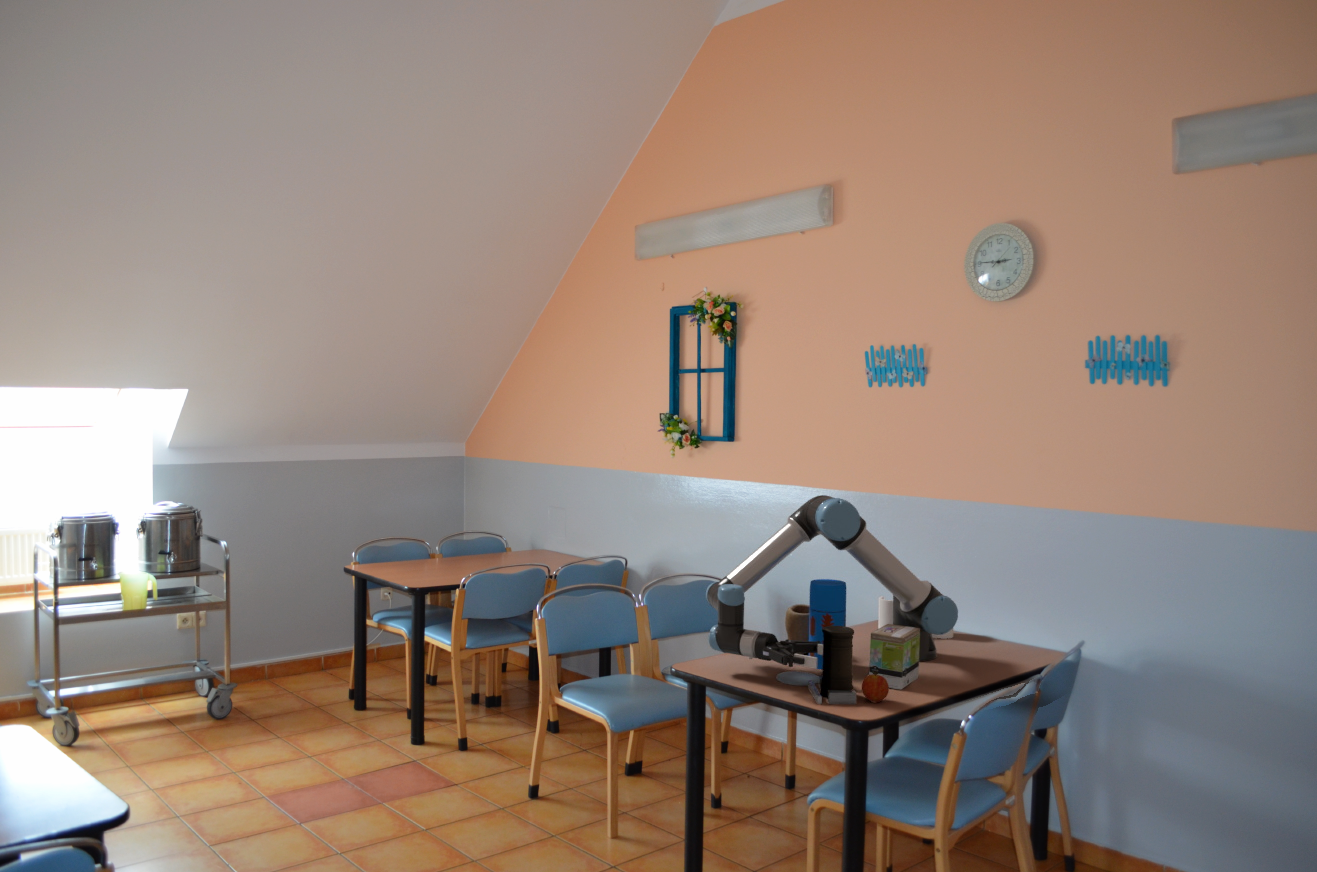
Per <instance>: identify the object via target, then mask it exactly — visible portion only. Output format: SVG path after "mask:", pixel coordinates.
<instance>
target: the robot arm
mask: <svg viewBox="0 0 1317 872" xmlns="http://www.w3.org/2000/svg"><path fill="white" fill-rule="evenodd" d="M817 536H822V537H823V538H825V539H826V540H827V541H828V542H829V543H830V544H831V545H832V546H834V547H835V548H836V550H837V551H845V552H847V553H848V554H849V555H850V556H851V557H853V558H854V559H855V560H856V561H857V562H858V563H859V564H860V565H861V566H863V567H862V568H864V569H865V570H866V571H867V572H868V573H870V574H871V576H873V577H874V578H875V579H876V580H877V581H878V582H879V583H880V584H881V585H883V587H884V588H886V590H887V591H889V592H890V593H891V594H892V601H893V625H900V626H907V627H914V628H920V649H919V662H923V661H924V662H925V661H926V662H927V661H931V660H934V659H936V658H937V653H938V651H937V646H936V643H935V639H934V638H933V636H932V634H935V635H942V634H945V633H947V632H949V631H950V630H951V629H952V628H953V629H954V627H955V625H956V624H957V621H958V619H959V609H958V606H957V604H956V603H955V600H953V599H952V598H951V597H949V596H947V595H944V594H943V593H941V591H939V590H938V589H937V588H936V586H934V585H933V584H932V583H931V581H928V580H920V578H918V577H917V576H916V575H915V574H914V573H913V572H912V571H911V570H910V569H909V568H908V567H907V566H905V564H903V562H901V560H899V559H898V558H897V557H896V556H895V555H894V554H893V553H892V552H891V551H890V550H889V549H888V548H887V547H886V546H885V545H883V543H882V542H880V541H879V540H878V539H877V538H876V536H874V534H872V533H871V532H870V531H869V530H868V529H867V521H866V520H865V519H864V518H863V517H862V516H860V513H859V510H858V509H857V508H856V507H855V506H854V505H853V504H852V503H851V502H849V501H848V500H847V499H843V498H840V497H832V496H830V495H826V494H823V495H817V496H813V497H811V498H810V499H808V500H807V501H805V503H803V504H802V505H801V506H799V508H798V509H796V510H795V511H794V512H793V513H791V515H789V516H788V517H787V522H786V523H785V524H784V525H783V526H782V527H781V528H779V529H778V530H777V531H776V532H774V534H773V535H771V536H770V537H769V538H768V539H767V540H766V541H764V542H763V543H762V544H761V545H760V546H759V547H758V548H757V549H755V550H754V551H753V552H752V553H751V554H749V555H748V556H747V557H746V558H745V559H744V560H743V561H741V562H740V563H739V564H738V565H736V567H734V569H732V570H731V571H730V572H728V573H727V575H726V576H724V577H723V578H722V579H720V580H719V581H714V582H712V583H709V584H708V586H707V588H706V590H705V599H706V600H707V602H708V604H709V606H711V607H712V608H714V609H715V610H716V611H717V624H714V625H713V626H712V627H711V628H710V630H709V635H708V643H709V647H711V649H712V650H714V651H718V652H721V653H723V654H730V655H736V656H742V657H748V659H749V660H752V659H758V660H761V661H768V662H769V661H774V662H776V663H778V664H780V665H783V666H788V668H793V667H794V665H796V666H801V667H805V668H812V669H816V668H817V657H811V656H809V655H804V654H809V653H818V654H820V655H823V644H821V642H820V641H818V640H817V642H816V641H797V640H788V638H787V639H785V640H780V641H779V640H778V638H777V636H776V635H775V634H774V633H769V632H765V631H763V632H762V631H760V630H759V631H758V630H753V629H746V628H744V626H745V625H744V624H745V601H746V598H745V597H746V596H745V593H746V592H747V591H749V590H750V589H751V588H752V587H753V586H754V585H755V584H756V583H759V581H760V580H761V579H762V578H764V576H766V575H767V574H768V573H769V572H771V571H772V570H773V569H775V567H777V565H779V564H780V563H781V562H782V561H783V560H785V559H786V558H787V557H788V556H789V555H790V554H791V553H793V552H794V551H795V550H796V549H797V548H799V547H800V546H801V545H802V544H804V543H805V542H806V543H808V542H811V541H812V540H813V539H814V538H815V537H817ZM796 653H804V654H796Z"/></svg>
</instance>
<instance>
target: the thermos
mask: <svg viewBox="0 0 1317 872" xmlns="http://www.w3.org/2000/svg"><path fill="white" fill-rule="evenodd" d="M808 605H809V641H816V642H817V640H818V641H820V642H821V644H823V642H824V638H823V633H822V629H823V627H826V626H845V627H847V626H846V625H847V622H846V621H847V582H845V581H843V580H838V579H830V578H827V579H826V578H825V579H824V578H821V579H820V578H819V579H813V580H810V584H809V604H808ZM808 656H811V657H817V668H815V669H816V670H820V669H821V671H823V655H820V654H818V653H808Z"/></svg>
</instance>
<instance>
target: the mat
mask: <svg viewBox="0 0 1317 872" xmlns="http://www.w3.org/2000/svg"><path fill="white" fill-rule="evenodd" d="M776 680H777V682H779V683H783V684H785V685H790V686H803V687H805V686H808V680H812V681H813V683H814V685H816V684H819V676H818V675H816V674H814V673H812V672H811V673H810V672H806V671H792V670H791V671H784V672H780V673H778V674H777V675H776Z"/></svg>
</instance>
